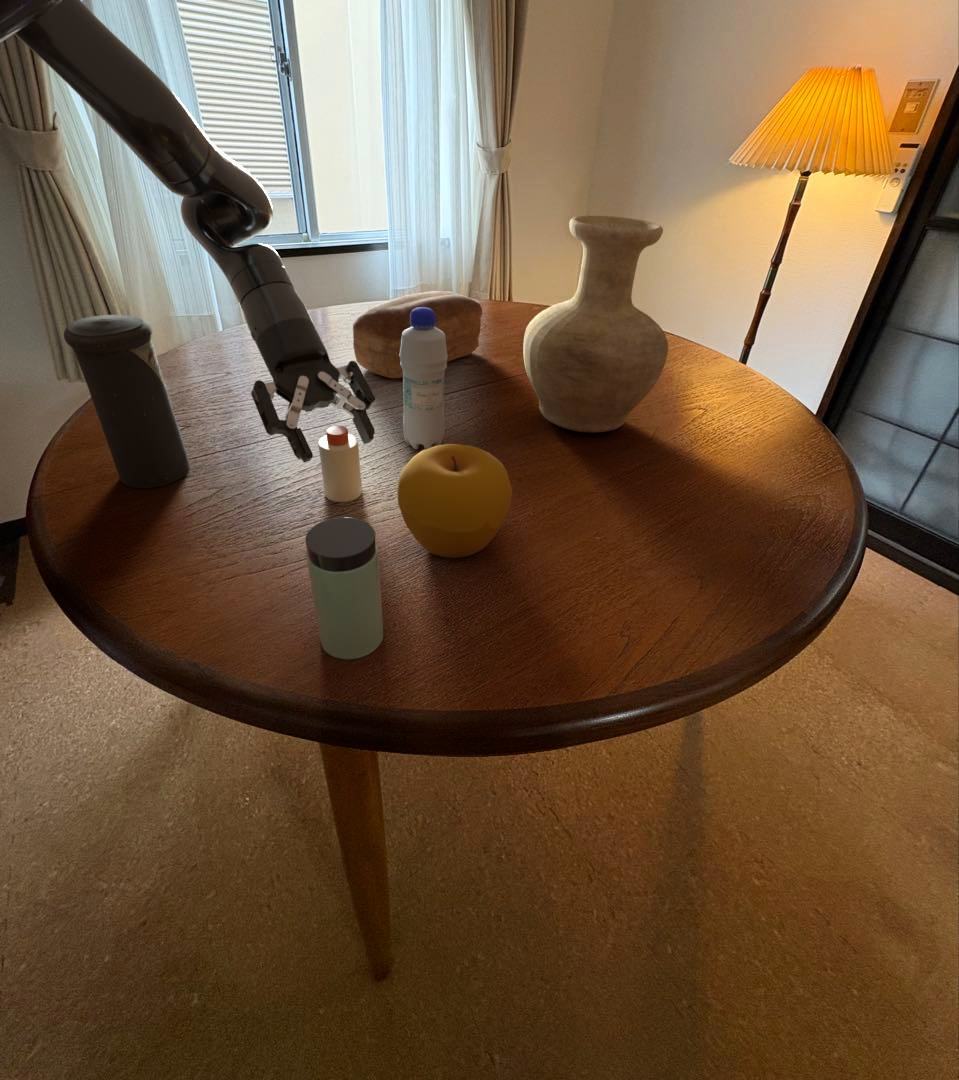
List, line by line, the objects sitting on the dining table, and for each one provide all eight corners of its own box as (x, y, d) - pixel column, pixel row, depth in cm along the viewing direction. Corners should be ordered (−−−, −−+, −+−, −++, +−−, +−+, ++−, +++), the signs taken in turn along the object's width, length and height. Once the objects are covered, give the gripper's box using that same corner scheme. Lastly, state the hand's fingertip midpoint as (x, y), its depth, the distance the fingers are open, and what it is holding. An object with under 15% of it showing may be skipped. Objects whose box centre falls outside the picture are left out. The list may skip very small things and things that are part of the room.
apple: (386, 521, 69) (381, 437, 62) (481, 502, 74) (486, 423, 67) (420, 586, 60) (419, 497, 53) (526, 560, 65) (538, 475, 58)
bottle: (406, 455, 83) (402, 315, 71) (399, 435, 88) (394, 301, 76) (450, 452, 85) (453, 314, 73) (440, 432, 90) (442, 300, 78)
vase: (517, 447, 87) (540, 229, 69) (514, 391, 105) (532, 206, 87) (661, 456, 87) (722, 241, 69) (633, 399, 105) (676, 216, 87)
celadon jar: (321, 664, 51) (304, 562, 44) (319, 618, 56) (302, 519, 48) (387, 653, 52) (381, 553, 45) (379, 609, 57) (372, 512, 50)
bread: (489, 353, 121) (493, 293, 114) (396, 388, 103) (393, 319, 96) (441, 338, 128) (442, 280, 120) (345, 368, 109) (339, 302, 102)
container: (206, 469, 77) (164, 318, 65) (144, 498, 70) (85, 337, 58) (166, 451, 80) (120, 304, 68) (104, 477, 74) (41, 320, 62)
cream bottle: (325, 504, 72) (317, 440, 66) (324, 484, 75) (316, 423, 70) (363, 500, 73) (358, 437, 67) (360, 481, 77) (355, 420, 71)
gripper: (231, 324, 63) (293, 455, 63) (344, 307, 71) (399, 424, 71) (223, 357, 69) (280, 476, 69) (327, 338, 77) (378, 445, 77)
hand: (340, 450), depth 70 cm, fingers open, 8 cm apart
